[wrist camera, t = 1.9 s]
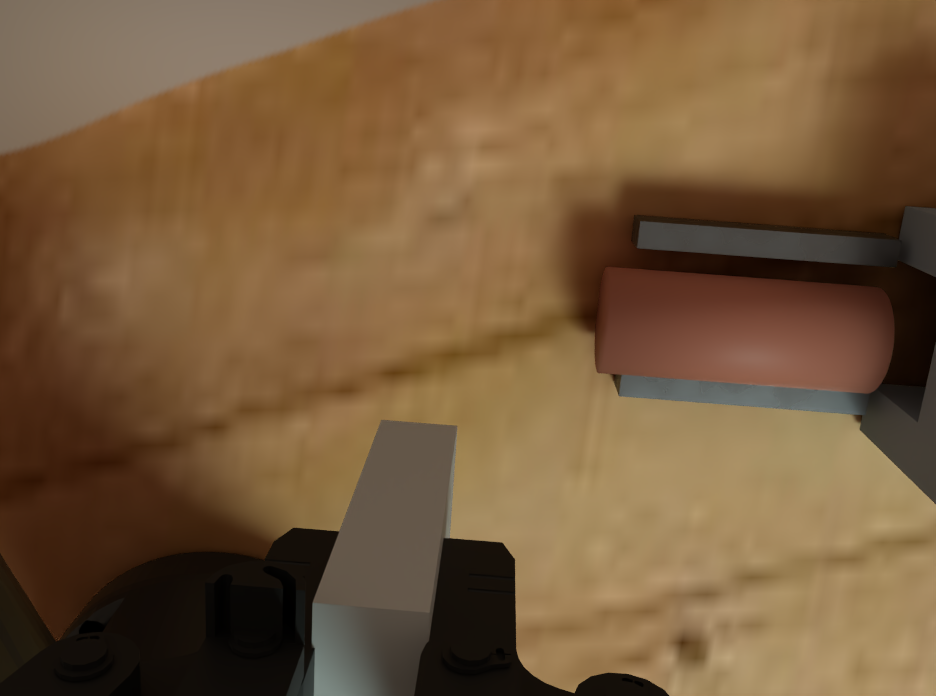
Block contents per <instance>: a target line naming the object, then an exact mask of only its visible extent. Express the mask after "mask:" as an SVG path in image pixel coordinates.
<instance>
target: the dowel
mask: <svg viewBox="0 0 936 696" xmlns="http://www.w3.org/2000/svg"><path fill="white" fill-rule="evenodd" d="M894 332H895V328H894V315H893V309H892V306H891V302H890V300H889V298H888V296H887V294H886V293H885V291H884V290H883V289H881V288H879V287H873V286H860V285H847V284H833V283H820V282H806V281H793V280H780V279H766V278H753V277H740V276H726V275H713V274H700V273H686V272H673V271H660V270H646V269H633V268H619V267H606V268H605V270H604V272H603V276H602V280H601V285H600V290H599V299H598V308H597V317H596V326H595V365H596V370H597V372H598V373H606V374H619V375H632V376H645V377H658V378H671V379H684V380H697V381H710V382H723V383H736V384H749V385H761V386H774V387H787V388H800V389H813V390H826V391H839V392H852V393H865V394H868V393H871V392H873V391H875V390H876V389H877V388H878V387H879V386H880V384H881V383H882V381H883V380H884V378H885V376H886V373H887V371H888V368H889V365H890V361H891V357H892V353H893V346H894Z"/></svg>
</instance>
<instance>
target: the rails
mask: <svg viewBox="0 0 936 696" xmlns="http://www.w3.org/2000/svg"><path fill="white" fill-rule="evenodd" d="M631 241H632V242H633V244H634V245H635V246H636V247H637V248H641V249H655V250H668V251H682V252H695V253H708V254H722V255H735V256H749V257H762V258H776V259H789V260H802V261H816V262H829V263H843V264H856V265H869V266H883V267H896V266H897V262H898V257H899V252H900V247H901V242H902V240H899V239H897V238H894V237H892V236H889V235H887V234H884V233H871V232H857V231H844V230H830V229H817V228H803V227H790V226H776V225H762V224H749V223H735V222H722V221H708V220H695V219H681V218H668V217H654V216H640V215H634V223H633V231H632V240H631ZM614 384H615V387H616V389H617V392H618V395H619V396H624V397H637V398H650V399H662V400H675V401H688V402H701V403H714V404H726V405H739V406H752V407H765V408H778V409H791V410H803V411H816V412H829V413H842V414H855V415H866V411H867V406H868V402H869V397H870V393H868V394H865V393H852V392H839V391H826V390H813V389H800V388H787V387H774V386H761V385H749V384H736V383H723V382H710V381H697V380H684V379H671V378H658V377H645V376H632V375H619V374H615V380H614Z"/></svg>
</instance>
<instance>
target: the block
mask: <svg viewBox="0 0 936 696" xmlns="http://www.w3.org/2000/svg"><path fill="white" fill-rule="evenodd" d="M899 240H902V242H901V247H900V252H899V257H898V260H899V261H901V262H903V263H905V264H908V265H910V266H912V267H914V268H916V269H919V270H921V271H923V272H925V273H928V274H930V275H932V276H934V277H936V208H923V207H910V206H906V207H905V211H904V216H903V221H902V226H901V231H900V236H899ZM860 430H861V431H862V432H863V433H864V434H865V435H866V436H867V437H868V438H869V439H870V440H871V441H872V442H873V443H874V444H875V445H876V446H877V447H878V448H879V449H880V450H881V451H882V452H883V453H884V454H885V455H886V456H887V457H888V458H889V459H890V460H891V461H892V462H893V463H894V464H895V465H896V466H897V467H898V468H899V469H900V470H901V471H902V472H903V473H904V474H905V475H906V476H907V477H908V478H909V479H911V480H912V481H913V482H914V483H915V484H916V485H917V486H918V487H919V488H920V489H921V490H922V491H923V492H924V493H925V494H926V495H927V496H928V497H929V498H930V499H931V500H932V501H933V502H934V503H935V504H936V344H935V348H934V353H933V357H932V362H931V366H930V371H929V375H928V380H927V384H926V387H919V386H906V385H893V384H880V386H879V387H878V388H877V389H876V390H875V391H873V392H871V393H870V397H869V402H868V406H867V411H866V415H862V420H861V425H860Z"/></svg>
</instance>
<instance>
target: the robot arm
mask: <svg viewBox="0 0 936 696" xmlns="http://www.w3.org/2000/svg"><path fill="white" fill-rule="evenodd" d="M456 439H457V426H452V425H439V424H426V423H414V422H401V421H389V420H381V423H380V425H379V428H378V431H377V433H376V436H375V439H374V441H373V444H372V446H371V449H370V452H369V454H368V457H367V460H366V462H365V465H364V468H363V470H362V473H361V476H360V478H359V481H358V484H357V486H356V489H355V492H354V494H353V497H352V500H351V502H350V505H349V507H348V510H347V513H346V515H345V518H344V521H343V523H342V526H341V529H340V531H327V530H315V529H302V528H293V529H291V530H290V531H288V532H287V533H285V534H284V535H283V536H281V537H280V538H278V539H277V540H276V541H274V542H273V544H272V546H271V548H270V550H269V552H268V554H267V556H266V558H265V561H264V560H260V559H256V558H252V557H249V556H243V555H238V554H230V553H220V552H194V553H184V554H178V555H172V556H167V557H163V558H159V559H156V560H153V561H150V562H147V563H144V564H142V565H139V566H137V567H135V568H133V569H131V570H129V571H127V572H125V573H124V574H122V575H120V576H119V577H117V578H116V579H114V580H113V581H111V582H110V583H109V584H107V585H106V586H105V587H104V588H103V589H101V590H100V591H99V592H98V593H97V594H96V595H95V596H94V597H93V598H92V599H91V600H90V602H89V603H88V604H87V605H86V607H85V608H84V609H83V610H82V611H81V613H80V614H79V615H78V616H77V618H76V619H75V620H74V621H73V623H72V624H71V625H70V626H69V628H68V629H67V630H66V632H65V633H64V635H63V636H62V637H61V639H60V640H59V641H57V642H56V641H55V639H54V638H53V636H52V635H51V633H50V631H49V630H48V628H47V627H46V625H45V624H44V622H43V620H42V619H41V617H40V616H39V614H38V612H37V611H36V609H35V608H34V606H33V605H32V603H31V601H30V600H29V598H28V597H27V595H26V593H25V592H24V590H23V589H22V587H21V586H20V584H19V582H18V581H17V579H16V578H15V576H14V574H13V573H12V571H11V570H10V568H9V567H8V565H7V563H6V562H5V560H4V559H3V557H2V556H1V554H0V696H669V695H668V694H667V693H666V692H665V691H664V690H663V689H662V688H660V687H658V686H657V685H655V684H653V683H652V682H650V681H648V680H646V679H643V678H639V677H636V676H633V675H629V674H620V673H605V674H600V675H596V676H591V677H589V678H588V679H586V680H585V681H583V682H582V683H580V684H579V685H578V687H577V689H576V691H575V693H571V692H568V691H565V690H562V689H559V688H556V687H554V686H551V685H549V684H546V683H544V682H543V681H541V680H539V679H538V678H536V677H534V676H533V675H532V674H531V673H530V672H529V671H528V670H526V669H525V668H524V667H523V665H522V663H521V662H520V660H519V658H518V655H517V651H516V609H515V559H514V558H513V556H512V555H511V554H510V552H509V551H508V550H507V548H506V547H505V546H504V544H503V543H500V542H488V541H475V540H463V539H451V538H450V526H451V511H452V497H453V482H454V468H455V453H456Z"/></svg>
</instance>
